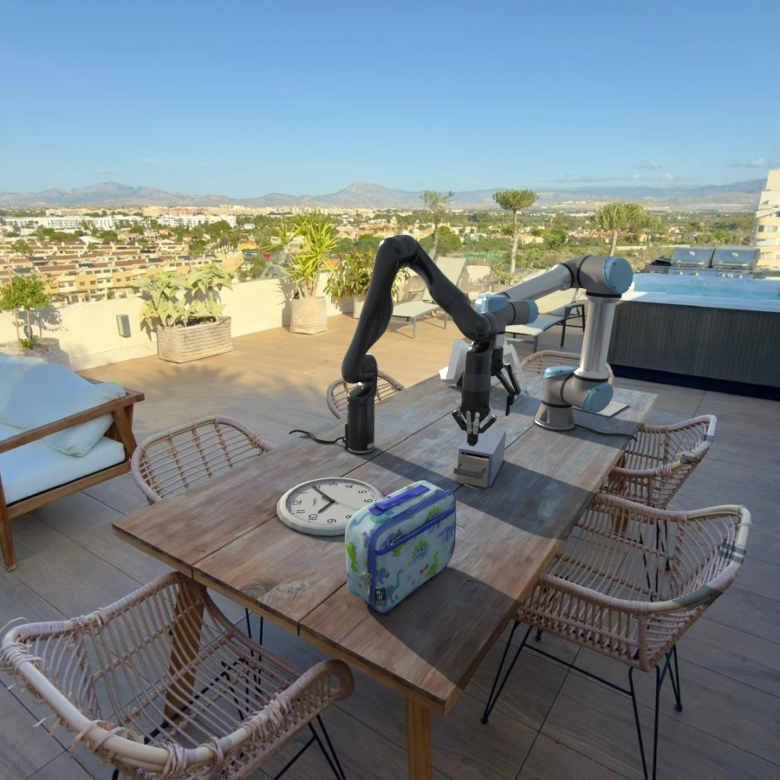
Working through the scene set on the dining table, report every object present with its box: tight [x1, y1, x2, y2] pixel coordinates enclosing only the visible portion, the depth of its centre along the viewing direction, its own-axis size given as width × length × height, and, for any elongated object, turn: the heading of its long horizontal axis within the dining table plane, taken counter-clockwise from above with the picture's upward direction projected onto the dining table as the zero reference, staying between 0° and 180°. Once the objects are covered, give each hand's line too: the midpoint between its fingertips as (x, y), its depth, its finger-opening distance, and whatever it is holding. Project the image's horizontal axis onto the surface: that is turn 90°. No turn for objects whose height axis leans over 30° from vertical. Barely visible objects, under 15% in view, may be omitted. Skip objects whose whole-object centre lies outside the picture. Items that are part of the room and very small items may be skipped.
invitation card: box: [573, 400, 629, 418], centre depth 226 cm, size 21×1×15 cm
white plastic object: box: [438, 336, 531, 400], centre depth 245 cm, size 37×45×31 cm
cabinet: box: [458, 427, 507, 487], centre depth 164 cm, size 20×10×10 cm, turn 157°
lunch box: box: [344, 480, 457, 614], centre depth 109 cm, size 26×11×21 cm, turn 135°
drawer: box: [453, 452, 489, 488], centre depth 158 cm, size 25×9×9 cm, turn 157°
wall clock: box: [276, 476, 386, 537], centre depth 142 cm, size 30×2×30 cm
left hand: (472, 445), depth 147 cm, fingers closed
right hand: (486, 411), depth 167 cm, fingers open, 13 cm apart
